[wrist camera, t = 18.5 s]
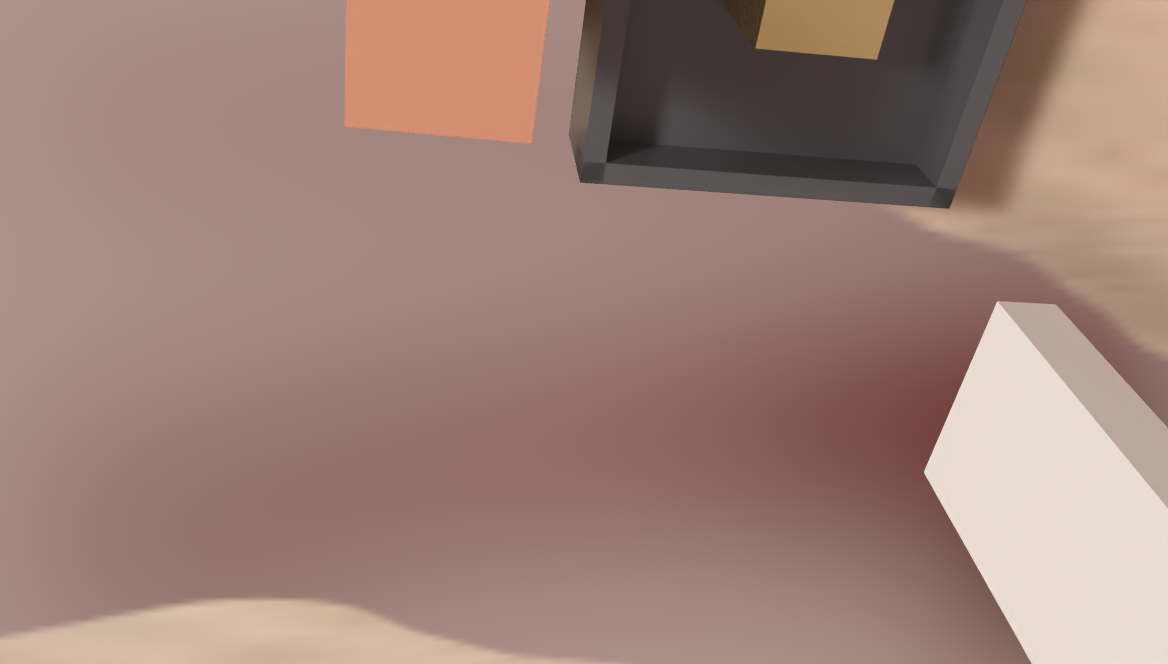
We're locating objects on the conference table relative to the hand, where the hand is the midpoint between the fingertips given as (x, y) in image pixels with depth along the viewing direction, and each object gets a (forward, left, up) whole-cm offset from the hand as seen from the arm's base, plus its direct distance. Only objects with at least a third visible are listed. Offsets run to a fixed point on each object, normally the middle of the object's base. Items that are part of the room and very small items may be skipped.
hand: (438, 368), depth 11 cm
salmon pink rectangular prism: (0, 0, -26) cm, 26 cm away
